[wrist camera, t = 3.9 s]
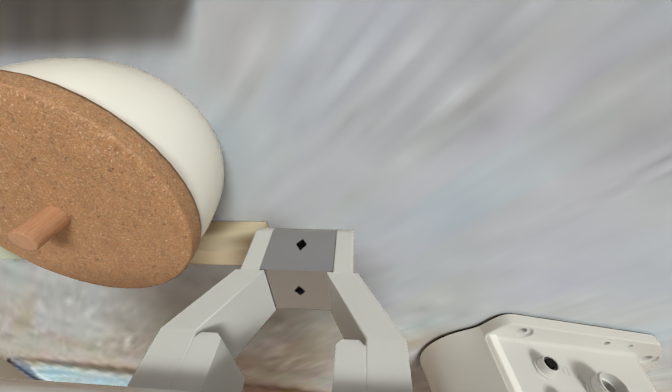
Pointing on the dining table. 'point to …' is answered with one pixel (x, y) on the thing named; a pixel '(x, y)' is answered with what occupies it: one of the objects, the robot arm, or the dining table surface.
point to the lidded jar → (103, 171)
